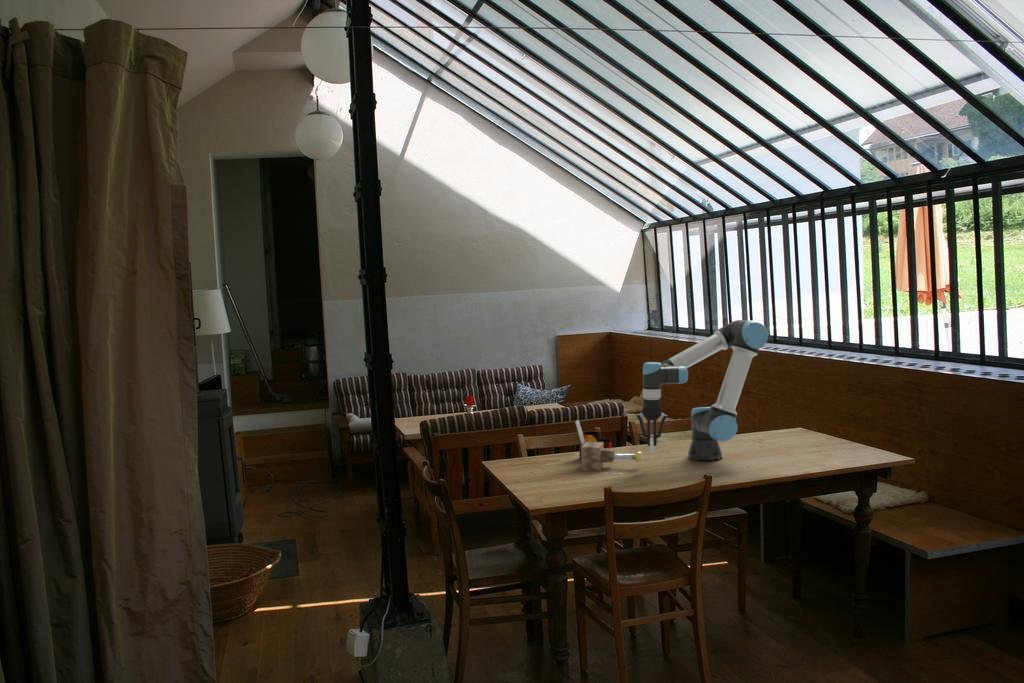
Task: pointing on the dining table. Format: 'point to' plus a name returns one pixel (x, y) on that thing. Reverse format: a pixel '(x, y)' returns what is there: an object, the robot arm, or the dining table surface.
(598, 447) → the block
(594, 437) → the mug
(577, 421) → the keeper flap
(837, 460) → the dining table surface
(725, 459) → the dining table surface
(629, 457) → the pin
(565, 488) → the dining table surface
